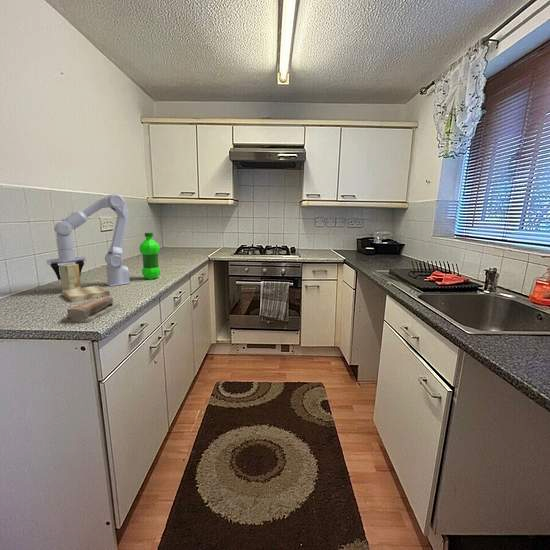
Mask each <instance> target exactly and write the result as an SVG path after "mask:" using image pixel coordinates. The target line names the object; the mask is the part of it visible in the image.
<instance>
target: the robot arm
mask: <svg viewBox="0 0 550 550" xmlns="http://www.w3.org/2000/svg"><path fill="white" fill-rule="evenodd" d="M107 208H110V209H111V210H112V211H113V212H114V213H115V214H116V215H117V216H116V221H115V224H114V225H115V226H114V231H113V235H112V238H111V239H112V240H111V244H110V247H109V249H108V252H107V254H105V257H104V261H105V263H106V267H105V268H106V269H105V270H106V277H107V282H104V284H105V285H107V286H108V287H115V286H121V285H126V284H128V285H129V284H131V281H130V280H131V279H130V271H129V267H128V266H127V265H124V264H123V263H124V258H123V255H124V254H123V253H124V252H123V246H124V241H125V237H126V234H127V233H126V232H127V228H128V227H127V226H128V223H129V218H130V212H129V209H128V206H127V201H126V200H125V199H124V197H122V195H120V194H118V193H113V194H108V195H106V197H105V196H104V197H102V198H100V199H98V200H96V202H94V203H92V204H91V205H90V206H88V207H86V208H85V209H84V210H82V211H78V210H76V211H72V212H70V215H69V216H67V217H65V218H62V219H61V221H59V222H57V223H56V224H55V225H54V228H53V230H54V232H55V233H56V235H55V237H56V245H57V246H56V247H57V253H58V258H52V259H46V265H49V266H50V267H51V268H52V271H54V273H55V276H56V278H57V280H58V281H61V275H60V265H61V264H72V263H74V264H79V274H80V276H81V274H82V270H83V267H84V266H85V262H87V257H86V256H79V257H77V256H76V257H75V253H74V245H73V238H72V231H73V230H76V229H78V228H79V227H80V226H82V225H83V224H85V223H87V221H88V217H90V216H92V215H94V214H95V213H97V212H99V211H100V210H102V209H107ZM59 264H60V265H59Z"/></svg>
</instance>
